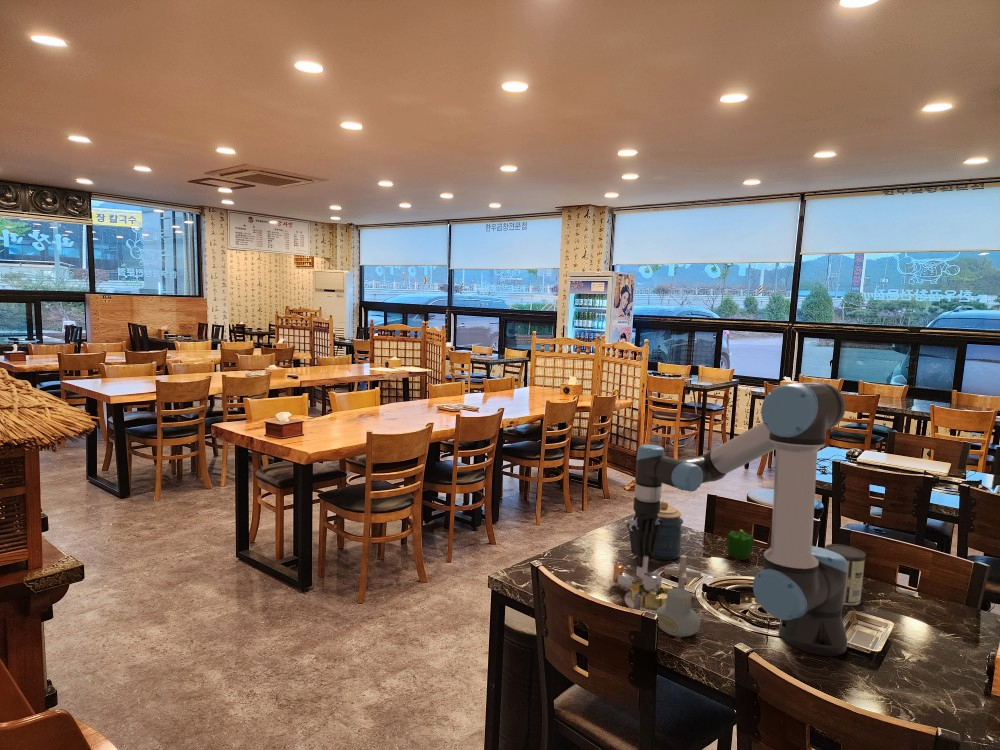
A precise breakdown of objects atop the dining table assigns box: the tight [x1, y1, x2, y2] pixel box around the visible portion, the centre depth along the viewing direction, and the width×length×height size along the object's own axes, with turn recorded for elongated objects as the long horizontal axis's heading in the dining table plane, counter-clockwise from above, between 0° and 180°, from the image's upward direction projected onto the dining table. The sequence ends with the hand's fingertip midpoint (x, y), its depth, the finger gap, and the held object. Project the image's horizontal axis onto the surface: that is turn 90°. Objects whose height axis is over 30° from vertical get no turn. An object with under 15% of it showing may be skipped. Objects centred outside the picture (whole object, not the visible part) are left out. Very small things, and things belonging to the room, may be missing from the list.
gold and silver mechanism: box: [624, 571, 663, 613], centre depth 165 cm, size 14×21×8 cm, turn 124°
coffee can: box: [824, 543, 867, 606], centre depth 177 cm, size 10×10×14 cm
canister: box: [649, 500, 684, 561], centre depth 204 cm, size 13×13×18 cm
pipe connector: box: [663, 554, 702, 590], centre depth 177 cm, size 10×10×10 cm
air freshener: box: [655, 587, 701, 638], centre depth 154 cm, size 11×8×10 cm
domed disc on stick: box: [612, 563, 673, 609], centre depth 171 cm, size 20×11×4 cm, turn 34°
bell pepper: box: [726, 529, 754, 561], centre depth 204 cm, size 8×8×10 cm
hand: (641, 576), depth 180 cm, fingers closed
